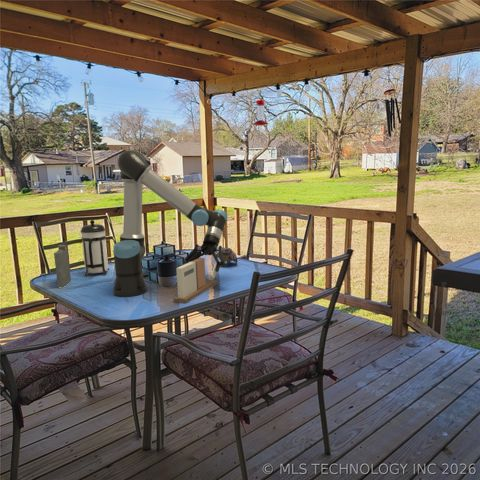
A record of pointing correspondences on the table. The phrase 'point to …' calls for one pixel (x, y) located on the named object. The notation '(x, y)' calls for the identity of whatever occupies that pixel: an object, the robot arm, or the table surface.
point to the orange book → (200, 272)
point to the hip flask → (62, 266)
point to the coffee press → (94, 248)
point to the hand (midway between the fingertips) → (199, 276)
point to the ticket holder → (189, 283)
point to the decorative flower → (228, 256)
